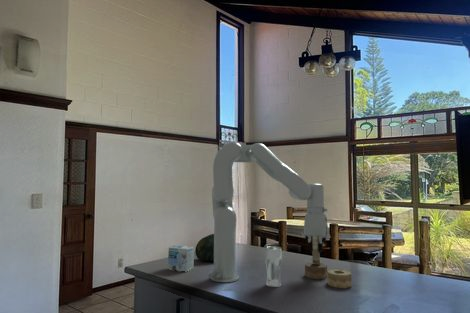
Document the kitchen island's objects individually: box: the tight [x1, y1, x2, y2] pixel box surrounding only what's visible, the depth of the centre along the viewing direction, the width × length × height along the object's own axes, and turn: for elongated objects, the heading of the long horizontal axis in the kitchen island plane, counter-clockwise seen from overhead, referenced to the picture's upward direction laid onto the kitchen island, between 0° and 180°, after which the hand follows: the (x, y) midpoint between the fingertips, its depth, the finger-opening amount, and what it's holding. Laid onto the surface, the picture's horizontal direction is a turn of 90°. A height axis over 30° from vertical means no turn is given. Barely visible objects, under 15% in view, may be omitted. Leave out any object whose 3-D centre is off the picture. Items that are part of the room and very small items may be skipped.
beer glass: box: [264, 245, 283, 288], centre depth 140 cm, size 7×7×15 cm
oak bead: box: [327, 268, 352, 289], centre depth 141 cm, size 9×9×5 cm
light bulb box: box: [167, 244, 195, 273], centre depth 164 cm, size 11×7×11 cm, turn 68°
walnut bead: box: [304, 262, 328, 280], centre depth 153 cm, size 9×9×5 cm
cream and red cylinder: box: [311, 236, 321, 264], centre depth 154 cm, size 3×3×14 cm
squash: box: [194, 233, 214, 262], centre depth 183 cm, size 14×15×15 cm
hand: (316, 251), depth 154 cm, fingers closed on cream and red cylinder, 3 cm apart
